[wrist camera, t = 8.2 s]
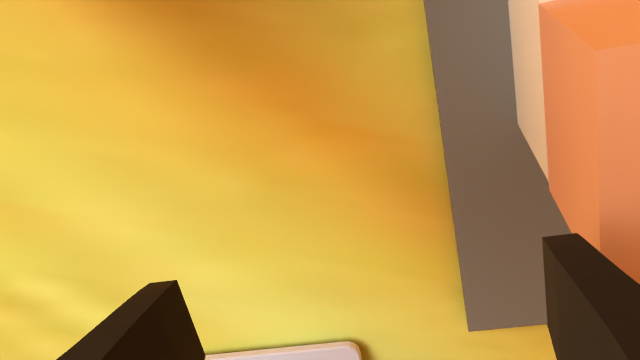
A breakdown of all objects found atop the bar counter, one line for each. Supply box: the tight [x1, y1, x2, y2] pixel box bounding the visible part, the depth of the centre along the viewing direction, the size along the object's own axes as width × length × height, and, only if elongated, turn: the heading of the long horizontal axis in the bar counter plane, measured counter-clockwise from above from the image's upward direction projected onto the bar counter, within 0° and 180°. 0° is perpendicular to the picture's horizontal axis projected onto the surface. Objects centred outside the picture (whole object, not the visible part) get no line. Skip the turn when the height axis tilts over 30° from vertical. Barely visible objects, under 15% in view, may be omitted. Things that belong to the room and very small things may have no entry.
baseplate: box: [424, 0, 572, 332], centre depth 21 cm, size 14×9×1 cm, turn 12°
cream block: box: [508, 0, 554, 182], centre depth 17 cm, size 5×4×4 cm
